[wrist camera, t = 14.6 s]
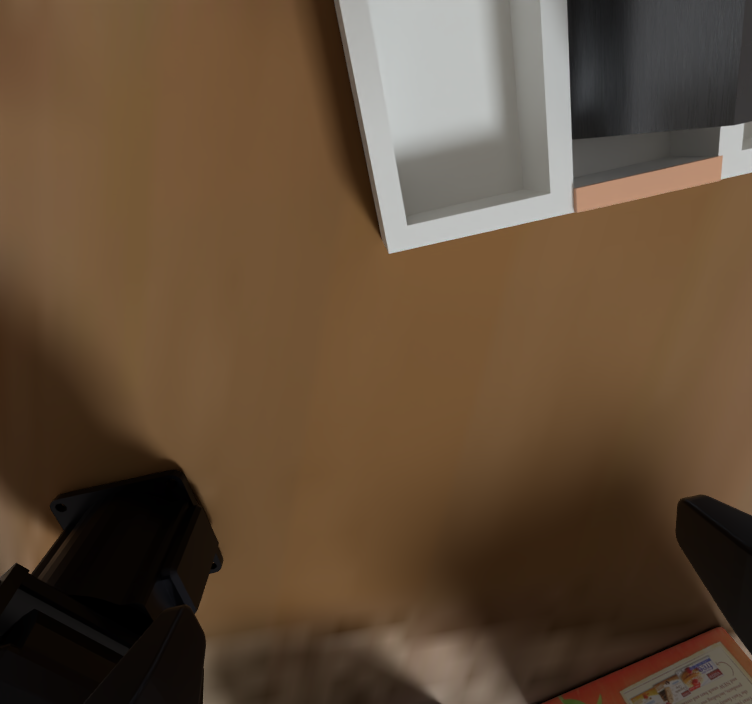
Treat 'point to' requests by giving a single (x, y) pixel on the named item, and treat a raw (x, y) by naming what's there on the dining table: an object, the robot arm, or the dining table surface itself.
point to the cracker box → (676, 676)
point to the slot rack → (496, 122)
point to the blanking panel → (658, 65)
